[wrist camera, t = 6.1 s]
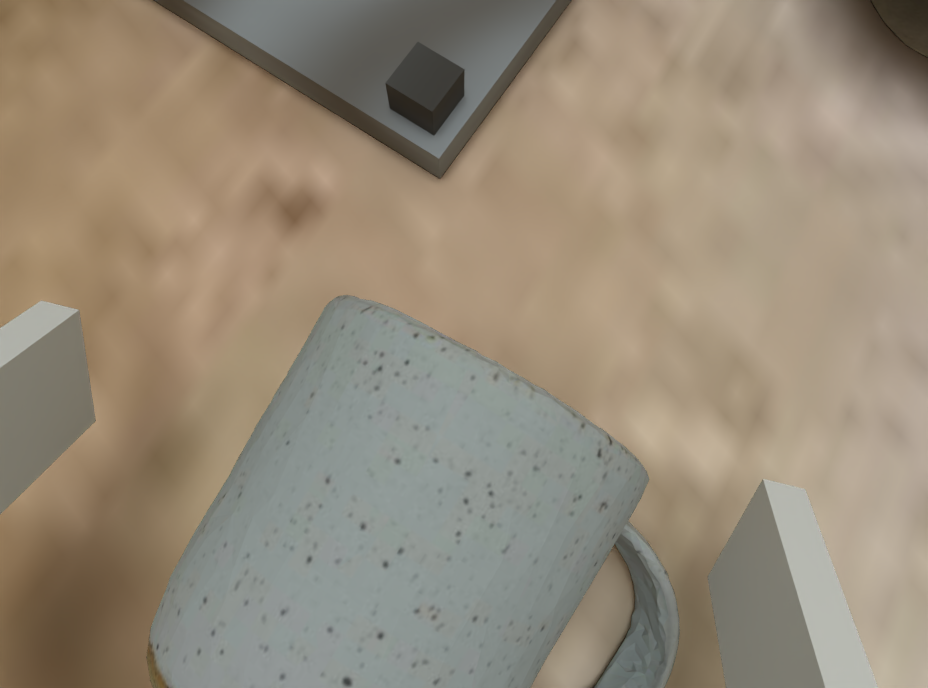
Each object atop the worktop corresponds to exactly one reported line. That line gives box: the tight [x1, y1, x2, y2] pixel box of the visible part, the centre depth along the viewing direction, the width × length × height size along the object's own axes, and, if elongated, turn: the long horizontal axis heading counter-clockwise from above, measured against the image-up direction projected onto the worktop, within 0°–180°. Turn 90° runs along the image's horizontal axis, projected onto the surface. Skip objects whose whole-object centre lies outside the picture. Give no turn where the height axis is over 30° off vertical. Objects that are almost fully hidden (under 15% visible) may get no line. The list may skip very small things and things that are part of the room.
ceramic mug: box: [146, 295, 680, 688], centre depth 14 cm, size 11×8×8 cm
